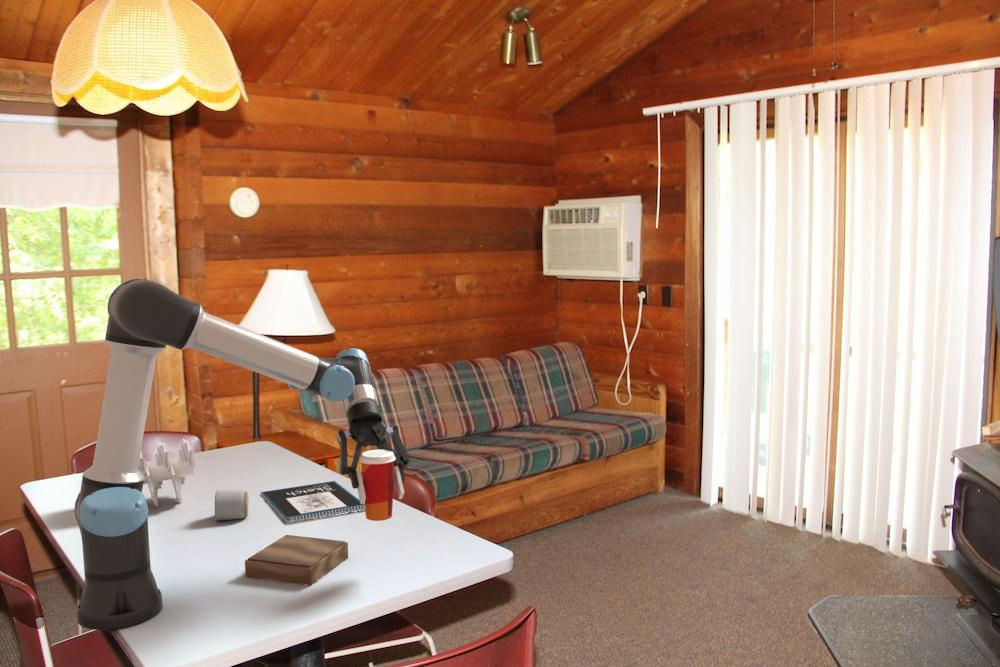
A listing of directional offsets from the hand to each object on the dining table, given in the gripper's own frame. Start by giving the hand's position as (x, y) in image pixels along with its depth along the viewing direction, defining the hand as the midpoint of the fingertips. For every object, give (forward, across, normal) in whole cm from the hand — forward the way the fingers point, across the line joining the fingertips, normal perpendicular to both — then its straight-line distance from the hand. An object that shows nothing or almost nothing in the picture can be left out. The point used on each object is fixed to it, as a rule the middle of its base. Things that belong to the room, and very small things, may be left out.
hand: (382, 497), depth 180 cm
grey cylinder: (-26, +26, -51) cm, 62 cm away
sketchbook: (-28, +4, -53) cm, 60 cm away
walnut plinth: (+3, +16, -21) cm, 26 cm away
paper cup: (+1, 0, -6) cm, 6 cm away
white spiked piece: (-39, +46, -64) cm, 88 cm away
